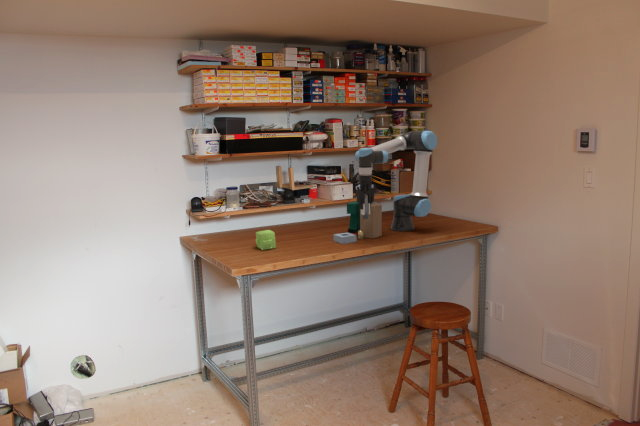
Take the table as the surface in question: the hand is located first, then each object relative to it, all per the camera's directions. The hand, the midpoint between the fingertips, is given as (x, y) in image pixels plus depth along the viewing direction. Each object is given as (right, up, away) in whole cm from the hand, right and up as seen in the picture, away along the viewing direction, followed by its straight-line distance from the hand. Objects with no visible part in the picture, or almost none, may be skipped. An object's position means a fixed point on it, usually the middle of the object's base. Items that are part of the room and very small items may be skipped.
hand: (365, 214), depth 307 cm
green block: (-59, -20, -6) cm, 63 cm away
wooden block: (+5, -14, +18) cm, 23 cm away
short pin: (-2, -15, +12) cm, 19 cm away
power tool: (+2, -11, +36) cm, 38 cm away
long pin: (0, -3, 0) cm, 3 cm away
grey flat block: (-12, -16, +5) cm, 21 cm away
